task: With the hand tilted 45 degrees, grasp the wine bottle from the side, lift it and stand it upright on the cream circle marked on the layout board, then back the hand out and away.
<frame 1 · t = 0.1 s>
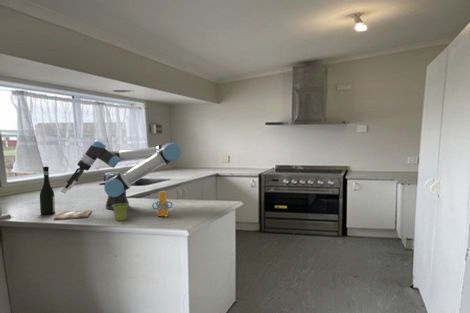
hand: (65, 190, 202), 15 cm above the countertop, tool tilted 35°, fingers open, 13 cm apart
orange block with loops: (162, 216, 200), on the countertop
wine bottle: (47, 214, 206), on the countertop
layout board: (73, 215, 201), on the countertop
plant pot: (121, 219, 192), on the countertop
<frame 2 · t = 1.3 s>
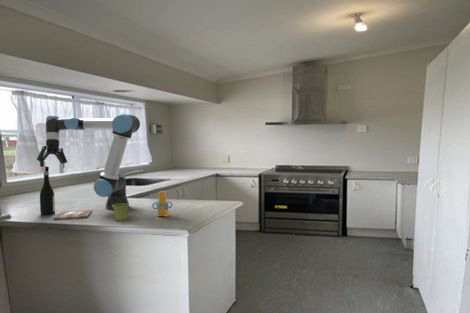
hand: (52, 172, 206), 26 cm above the countertop, tool pointing down, fingers open, 13 cm apart
nothing on the countertop moved.
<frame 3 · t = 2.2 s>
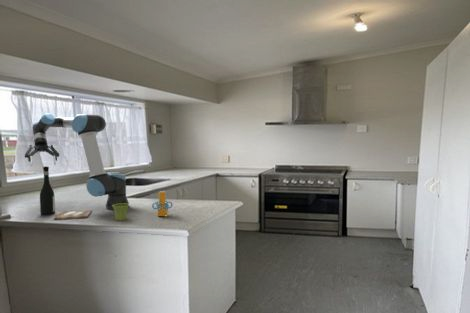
hand: (43, 164, 216), 30 cm above the countertop, tool tilted 45°, fingers open, 13 cm apart
nothing on the countertop moved.
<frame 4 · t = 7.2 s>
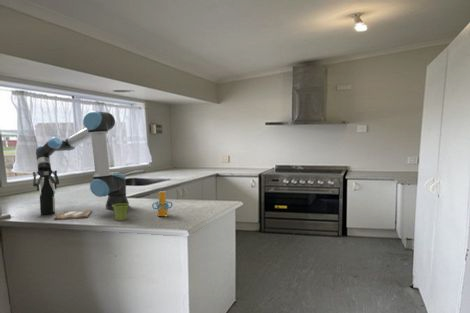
hand: (47, 193, 202), 13 cm above the countertop, tool tilted 45°, fingers closed on wine bottle, 7 cm apart
wine bottle: (47, 214, 206), on the countertop, touching gripper
everything else where it was.
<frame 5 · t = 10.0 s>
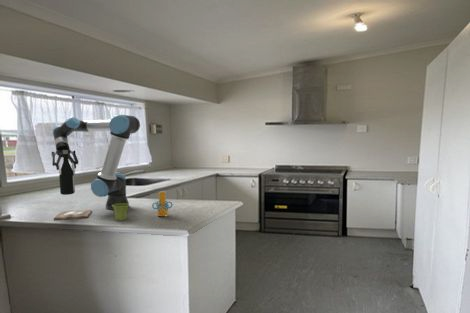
hand: (67, 172, 197), 27 cm above the countertop, tool tilted 45°, fingers closed on wine bottle, 7 cm apart
wine bottle: (67, 194, 201), point 13 cm above the countertop, touching gripper
everything else where it was.
when the fingers open (16 cm above the countertop, at t = 13.0 s): wine bottle drops 2 cm, resting on layout board.
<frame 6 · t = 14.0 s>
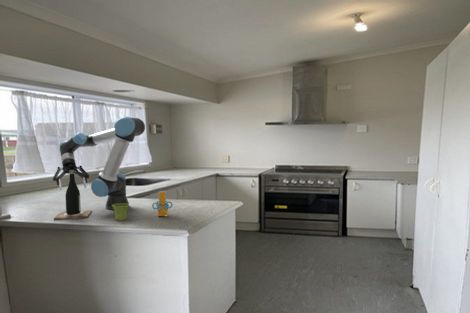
hand: (73, 187, 197), 18 cm above the countertop, tool tilted 45°, fingers open, 13 cm apart
wine bottle: (73, 213, 200), point 1 cm above the countertop, touching layout board
everything else where it was.
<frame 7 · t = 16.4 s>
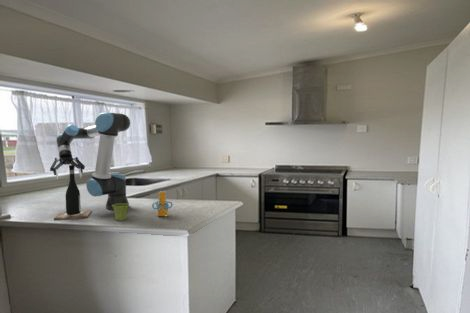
hand: (69, 177, 208), 22 cm above the countertop, tool tilted 45°, fingers open, 13 cm apart
nothing on the countertop moved.
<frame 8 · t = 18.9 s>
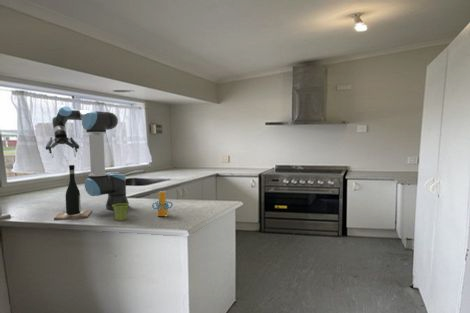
hand: (64, 156, 218), 36 cm above the countertop, tool tilted 45°, fingers open, 13 cm apart
nothing on the countertop moved.
at the end: wine bottle inside the target area on the layout board (0.1 cm from its centre), point 1.2 cm above the layout board's base; wine bottle tilted 0°; the gripper is holding nothing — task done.
